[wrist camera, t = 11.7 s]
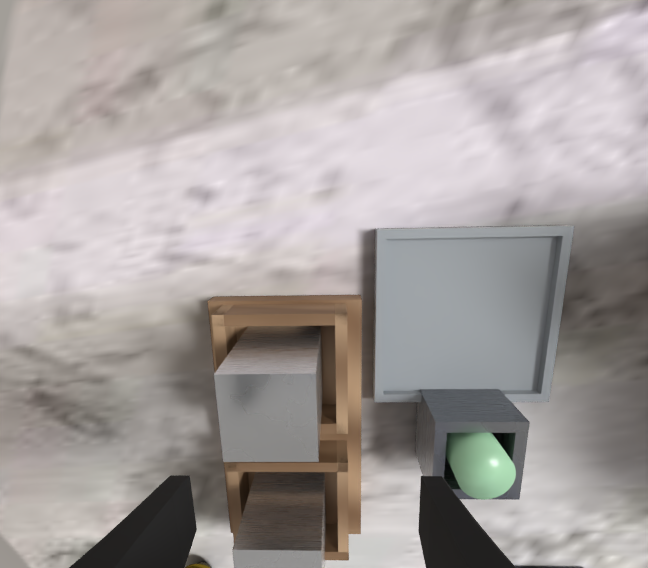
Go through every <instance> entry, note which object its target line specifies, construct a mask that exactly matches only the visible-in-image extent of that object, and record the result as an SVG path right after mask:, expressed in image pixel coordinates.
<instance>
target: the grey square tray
mask: <svg viewBox="0 0 648 568" xmlns="http://www.w3.org/2000/svg"><path fill="white" fill-rule="evenodd" d="M573 232H574V226H569V225H543V226H490V227H437V228H383V229H375V289H374V361H373V397H374V402H421V395H422V394H421V392H420V389H499V390H500V391H501V392H502V393H503V394H504V395H505V396H506V397H507V398H508V399H509V400H510V401H511V402H549V398H550V391H551V384H552V377H553V370H554V364H555V357H556V350H557V343H558V336H559V329H560V322H561V315H562V308H563V301H564V294H565V287H566V280H567V273H568V267H569V260H570V253H571V246H572V239H573Z"/></svg>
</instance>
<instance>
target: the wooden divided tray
mask: <svg viewBox="0 0 648 568" xmlns="http://www.w3.org/2000/svg"><path fill="white" fill-rule="evenodd" d="M208 311H209V321H210V331H211V341H212V351H213V360H214V370H215V372H216V371H217V369H218V368H219V367H220V365H221V364H222V362H223V361H224V360H225V358H226V357H227V355H228V354H229V353H230V351H231V350H232V349H233V347H234V346H235V344H236V343H237V342H238V340H239V339H240V337H241V336H242V335H243V333H244V332H245V331H246V329H247V328H248V326H320V325H321V348H322V383H323V394H322V412H321V429H320V446H319V462H224V469H225V479H226V489H227V499H228V508H229V518H230V528H231V533H233V537H234V543H235V539H236V536H237V533H238V529H239V526H240V523H241V519H242V516H243V512H244V509H245V506H246V502H247V499H248V496H249V492H250V489H251V485H252V482H253V479H254V475H255V472H325V499H326V528H325V560H349V553H348V534H361V348H362V299H361V296H360V295H310V296H230V297H213V298H212V299H210V300H209V301H208Z"/></svg>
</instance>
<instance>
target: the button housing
mask: <svg viewBox="0 0 648 568" xmlns="http://www.w3.org/2000/svg"><path fill="white" fill-rule="evenodd" d="M420 392H421V394H422V395H421V402H417V421H416V443H415V453H416V456H417V459H418V462H419V465H420V468H421V471H422V474H423V476H442V477H443V478H444V479H445V481H446V482H447V483H448V485H449V486H450V487H451V489H452V490H453V491H454V493H455V494H456V495H457V497H458V498H459V499H476V498H473V497H471V496H469V495H467V494H466V493H464V492H463V491H462V489H461V488H460V486H459V484H458V482H457V480H456V477H455V475H454V473H453V471H452V469H451V467H450V464H449V462H448V460H447V458H446V456H445V455H446V441H447V433H492V434H493V435H494V437H495V438H496V439H497V441H498V442H499V444H500V445H501V446H502V448H503V449H504V451H505V452H506V453H507V455H508V456H509V458H510V459H511V461H512V462H513V464H514V466H515V469H516V477H515V480H514V483H513V485H512V486H511V487H510V489H509V490H508V491H506V492H505V493H504V494H502V495H500V496H498V497H496V498H492V499H519V498H520V490H521V483H522V475H523V468H524V460H525V452H526V445H527V437H528V430H529V421H528V420H527V419H526V418H525V417H524V416H523V415H522V413H521V412H520V411H519V410H518V409H517V408H516V407H515V406H514V405H513V404H512V403H511V401H510V400H509V399H508V398H507V397H506V396H505V395H504V394H503V393H502V392H501V391H500V390H499V389H420Z"/></svg>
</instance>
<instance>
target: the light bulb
mask: <svg viewBox="0 0 648 568" xmlns="http://www.w3.org/2000/svg"><path fill="white" fill-rule="evenodd" d="M185 568H211V566H210V565H209V564H207V563H205V562H200V563H198V564H191V565H189V566H187V567H185Z"/></svg>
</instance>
